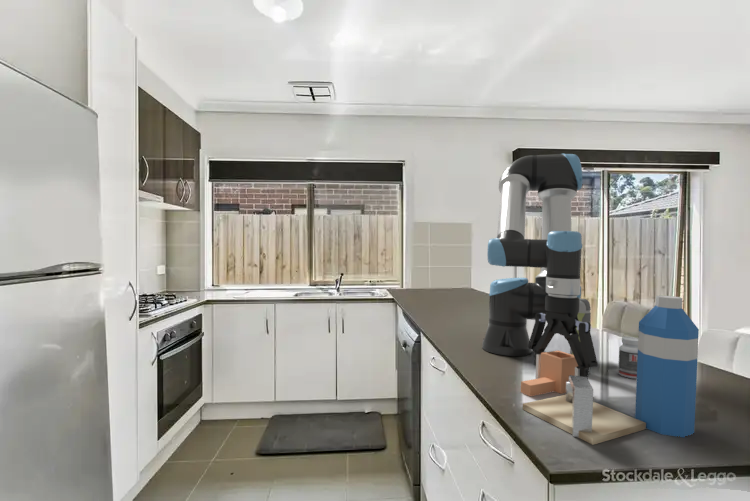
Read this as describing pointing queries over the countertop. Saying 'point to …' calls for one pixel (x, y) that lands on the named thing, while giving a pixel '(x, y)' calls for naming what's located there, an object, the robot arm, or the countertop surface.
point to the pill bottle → (628, 357)
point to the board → (603, 419)
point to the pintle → (569, 392)
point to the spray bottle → (583, 315)
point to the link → (551, 374)
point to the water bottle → (667, 369)
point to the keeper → (581, 405)
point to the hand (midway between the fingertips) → (559, 387)
